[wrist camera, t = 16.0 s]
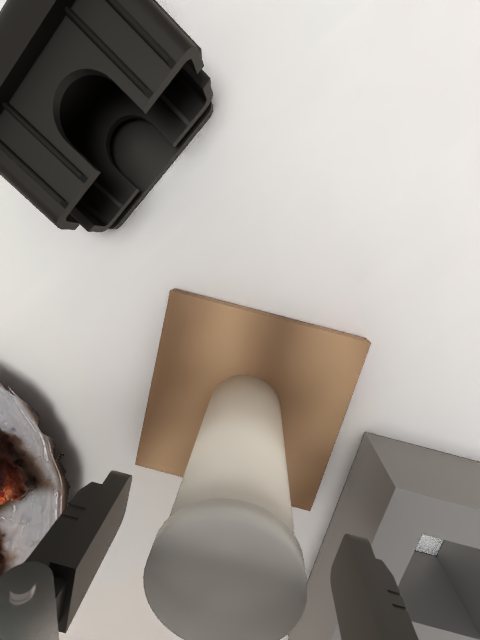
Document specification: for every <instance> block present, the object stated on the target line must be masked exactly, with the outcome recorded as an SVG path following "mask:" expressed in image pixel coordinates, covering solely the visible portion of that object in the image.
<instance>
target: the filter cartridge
mask: <svg viewBox="0 0 480 640" xmlns="http://www.w3.org/2000/svg"><path fill="white" fill-rule="evenodd" d="M143 579H144V590H145V595H146V598H147V600H148V603H149V605H150V607H151V609H152V611H153V612H154V613H155V615H156V616H157V618H158V619H159V620H160V621H161V622H162V623H163V624H164V625H165V626H166V627H167V628H168V629H169V630H170V631H172V632H173V633H174V634H176V635H177V636H179V637H180V638H182V639H184V640H280V639H281V638H283V637H284V636H285V635H287V634H288V633H289V632H290V631H291V630H292V629H293V628H294V627H295V626H296V624H297V623H298V621H299V620H300V618H301V616H302V614H303V612H304V609H305V606H306V602H307V582H306V575H305V567H304V559H303V555H302V550H301V548H300V545H299V543H298V541H297V539H296V537H295V536H294V528H293V519H292V510H291V500H290V491H289V482H288V473H287V464H286V455H285V446H284V437H283V428H282V418H281V409H280V402H279V399H278V396H277V394H276V392H275V391H274V389H273V388H272V387H271V386H270V385H269V384H268V383H267V382H265V381H264V380H262V379H260V378H257V377H254V376H250V375H238V376H233V377H230V378H228V379H226V380H224V381H223V382H221V383H220V384H219V385H218V386H217V387H216V388H215V390H214V391H213V393H212V396H211V398H210V401H209V404H208V407H207V410H206V413H205V416H204V419H203V422H202V424H201V427H200V430H199V433H198V436H197V439H196V442H195V445H194V448H193V450H192V453H191V456H190V459H189V462H188V465H187V468H186V471H185V474H184V476H183V479H182V482H181V485H180V488H179V491H178V494H177V497H176V500H175V502H174V505H173V508H172V511H171V514H170V517H169V518H168V519H167V520H166V521H165V522H164V524H163V525H162V527H161V528H160V529H159V531H158V533H157V535H156V538H155V540H154V543H153V546H152V549H151V551H150V554H149V557H148V559H147V562H146V566H145V569H144V576H143Z"/></svg>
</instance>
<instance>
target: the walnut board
mask: <svg viewBox="0 0 480 640" xmlns="http://www.w3.org/2000/svg"><path fill="white" fill-rule="evenodd" d="M370 345H371V342H370V341H368V340H367V339H366V338H363V337H359V336H356V335H352V334H348V333H344V332H340V331H336V330H332V329H329V328H325V327H321V326H317V325H313V324H309V323H305V322H302V321H298V320H294V319H290V318H286V317H282V316H279V315H275V314H271V313H267V312H263V311H259V310H255V309H252V308H248V307H244V306H240V305H236V304H232V303H228V302H225V301H221V300H217V299H213V298H209V297H205V296H202V295H198V294H194V293H190V292H186V291H182V290H178V289H173V290H170V294H169V299H168V304H167V309H166V314H165V319H164V323H163V328H162V333H161V338H160V343H159V348H158V353H157V358H156V363H155V368H154V373H153V378H152V383H151V388H150V393H149V398H148V403H147V408H146V413H145V418H144V423H143V428H142V433H141V438H140V443H139V448H138V453H137V458H136V463H135V465H139V466H143V467H146V468H150V469H154V470H158V471H161V472H165V473H169V474H173V475H176V476H180V477H183V476H184V474H185V471H186V468H187V465H188V462H189V459H190V456H191V453H192V450H193V448H194V445H195V442H196V439H197V436H198V433H199V430H200V427H201V424H202V422H203V419H204V416H205V413H206V410H207V407H208V404H209V401H210V398H211V396H212V393H213V391H214V390H215V388H216V387H217V386H218V385H219V384H220V383H221V382H223V381H224V380H226V379H228V378H230V377H233V376H238V375H250V376H254V377H257V378H260V379H262V380H264V381H265V382H267V383H268V384H269V385H270V386H271V387H272V388H273V389H274V391H275V392H276V394H277V396H278V399H279V402H280V409H281V418H282V428H283V437H284V446H285V455H286V464H287V473H288V482H289V491H290V500H291V506H293V507H297V508H301V509H304V510H308V511H310V510H311V508H312V505H313V502H314V499H315V497H316V494H317V491H318V488H319V486H320V483H321V480H322V477H323V474H324V472H325V469H326V466H327V463H328V461H329V458H330V455H331V452H332V450H333V447H334V444H335V441H336V439H337V436H338V433H339V430H340V427H341V425H342V422H343V419H344V416H345V414H346V411H347V408H348V405H349V403H350V400H351V397H352V394H353V392H354V389H355V386H356V383H357V381H358V378H359V375H360V372H361V369H362V367H363V364H364V361H365V358H366V356H367V353H368V350H369V347H370Z"/></svg>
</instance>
